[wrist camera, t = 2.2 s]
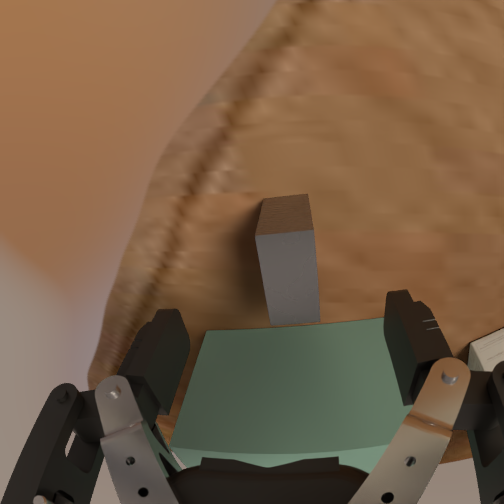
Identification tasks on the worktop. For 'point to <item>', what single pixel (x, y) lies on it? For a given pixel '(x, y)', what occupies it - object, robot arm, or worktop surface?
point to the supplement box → (486, 352)
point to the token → (288, 260)
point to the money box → (291, 396)
